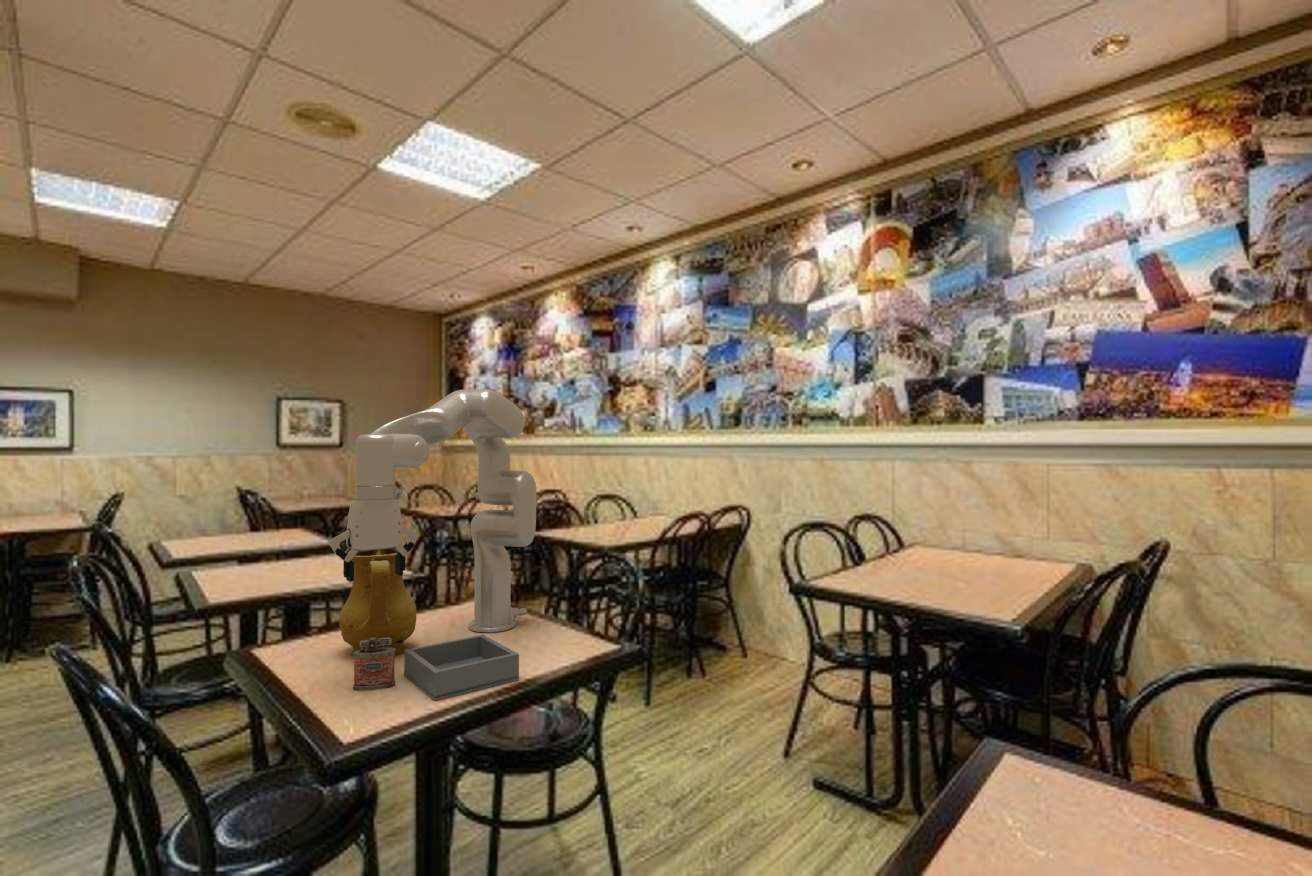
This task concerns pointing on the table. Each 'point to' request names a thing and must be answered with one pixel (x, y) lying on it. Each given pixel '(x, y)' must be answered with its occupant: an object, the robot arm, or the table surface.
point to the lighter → (374, 665)
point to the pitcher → (377, 602)
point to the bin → (460, 666)
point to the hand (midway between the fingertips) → (375, 577)
